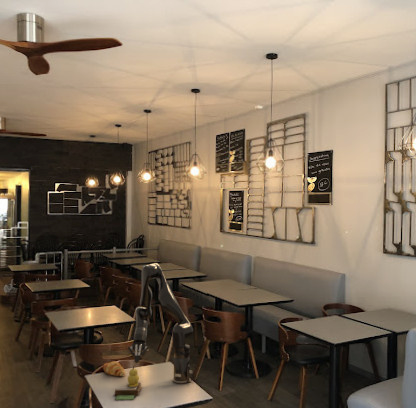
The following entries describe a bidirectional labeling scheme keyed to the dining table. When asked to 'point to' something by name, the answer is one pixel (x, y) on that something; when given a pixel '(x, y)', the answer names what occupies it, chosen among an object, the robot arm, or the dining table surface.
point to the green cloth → (125, 397)
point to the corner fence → (128, 391)
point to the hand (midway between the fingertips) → (136, 362)
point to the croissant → (114, 368)
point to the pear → (133, 378)
